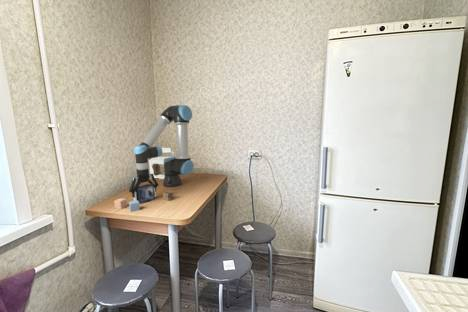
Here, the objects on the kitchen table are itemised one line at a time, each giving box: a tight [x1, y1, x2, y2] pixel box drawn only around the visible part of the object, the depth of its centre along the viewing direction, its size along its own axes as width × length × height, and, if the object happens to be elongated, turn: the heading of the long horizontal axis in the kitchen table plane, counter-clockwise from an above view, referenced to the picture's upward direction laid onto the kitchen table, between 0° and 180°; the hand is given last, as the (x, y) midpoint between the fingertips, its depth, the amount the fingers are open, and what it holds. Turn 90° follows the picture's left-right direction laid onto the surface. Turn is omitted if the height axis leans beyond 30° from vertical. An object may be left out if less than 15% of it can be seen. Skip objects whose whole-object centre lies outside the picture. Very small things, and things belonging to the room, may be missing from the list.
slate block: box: [128, 200, 140, 212], centre depth 153 cm, size 5×5×5 cm
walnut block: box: [162, 191, 175, 202], centre depth 170 cm, size 5×5×5 cm
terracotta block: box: [113, 198, 128, 210], centre depth 157 cm, size 5×5×5 cm
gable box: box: [148, 147, 177, 180], centre depth 229 cm, size 22×13×28 cm, turn 81°
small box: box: [135, 183, 155, 205], centre depth 167 cm, size 11×6×10 cm, turn 139°
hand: (145, 199), depth 168 cm, fingers open, 13 cm apart
